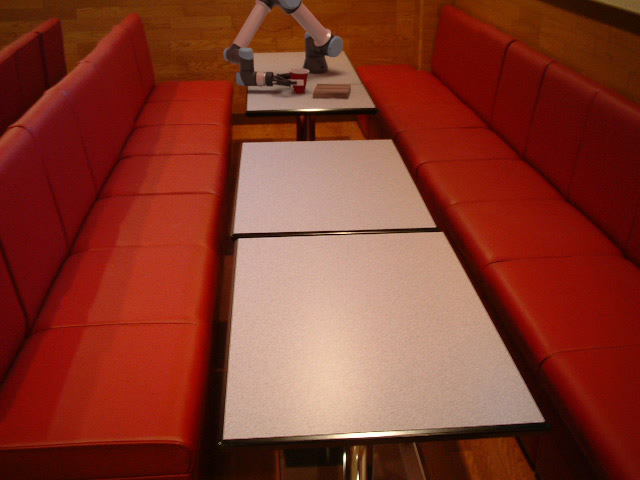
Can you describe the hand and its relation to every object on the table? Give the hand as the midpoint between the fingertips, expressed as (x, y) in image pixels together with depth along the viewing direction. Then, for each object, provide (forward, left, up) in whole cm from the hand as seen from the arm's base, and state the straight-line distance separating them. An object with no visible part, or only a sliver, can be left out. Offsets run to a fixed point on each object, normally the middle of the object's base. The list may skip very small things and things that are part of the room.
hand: (305, 79), depth 334 cm
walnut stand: (+2, +14, -7) cm, 16 cm away
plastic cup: (0, -3, -7) cm, 8 cm away
